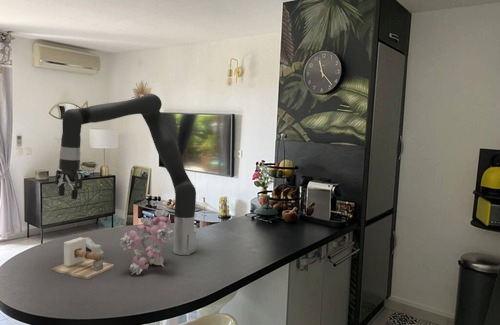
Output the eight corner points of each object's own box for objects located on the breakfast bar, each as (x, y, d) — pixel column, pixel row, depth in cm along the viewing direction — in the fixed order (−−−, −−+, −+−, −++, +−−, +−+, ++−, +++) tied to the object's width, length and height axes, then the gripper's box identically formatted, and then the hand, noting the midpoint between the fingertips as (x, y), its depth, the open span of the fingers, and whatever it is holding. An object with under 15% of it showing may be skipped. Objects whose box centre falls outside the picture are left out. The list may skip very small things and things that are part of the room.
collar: (85, 259, 150) (85, 238, 149) (69, 265, 142) (69, 243, 141) (80, 258, 151) (80, 237, 150) (64, 264, 143) (63, 242, 143)
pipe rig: (113, 266, 148) (114, 249, 148) (87, 279, 135) (87, 260, 135) (80, 259, 155) (80, 242, 154) (51, 270, 142) (51, 252, 141)
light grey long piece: (91, 235, 176) (104, 243, 156) (91, 249, 176) (104, 258, 155) (79, 237, 173) (91, 245, 153) (79, 251, 173) (91, 260, 152)
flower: (110, 257, 155) (112, 211, 142) (160, 244, 167) (166, 201, 155) (125, 293, 141) (128, 246, 129) (178, 275, 154) (186, 231, 142)
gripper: (89, 160, 148) (86, 199, 149) (67, 156, 155) (65, 193, 156) (72, 160, 141) (69, 201, 143) (50, 156, 148) (48, 195, 150)
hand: (67, 197), depth 149 cm, fingers open, 8 cm apart
